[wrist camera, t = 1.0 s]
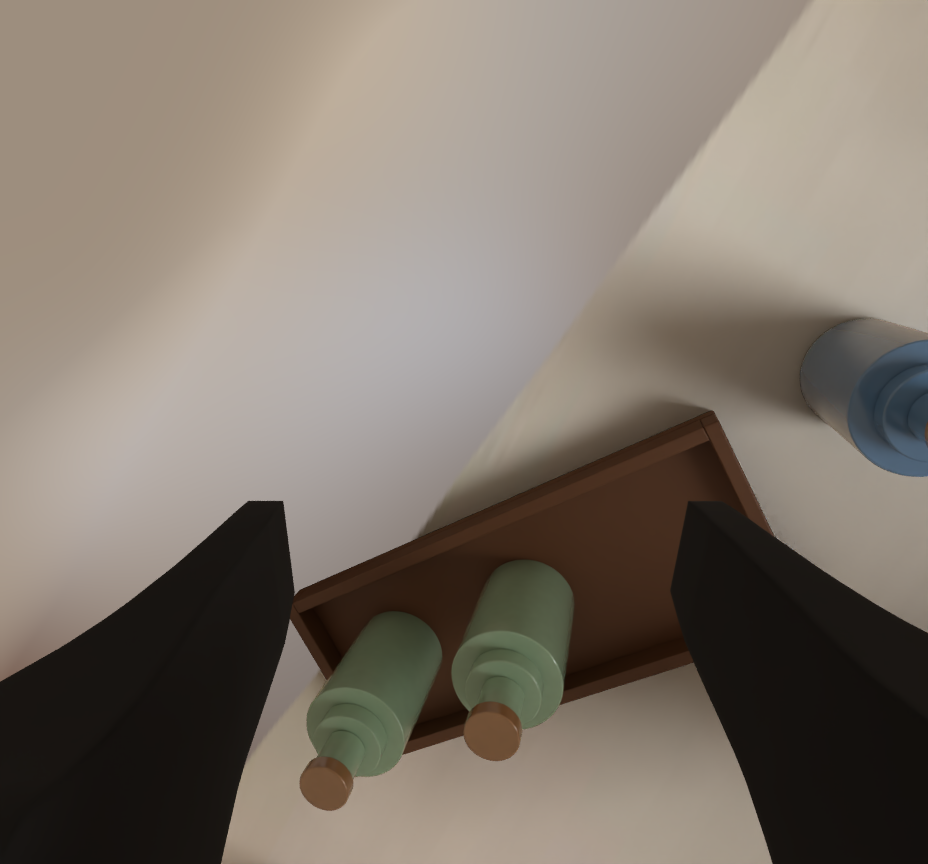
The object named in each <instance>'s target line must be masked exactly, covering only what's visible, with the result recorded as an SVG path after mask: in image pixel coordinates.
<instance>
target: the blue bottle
mask: <svg viewBox="0 0 928 864" xmlns="http://www.w3.org/2000/svg"><path fill="white" fill-rule="evenodd" d="M800 386H801V390H802V394H803V396H804V399H805V400H806V402H807V404H808V405H809V407H810V408H811V409H812V410H813V411H814V412H815V413H816V414H817V415H818V416H819V417H820V418H821V419H822V420H824V421H825V422H826V423H827V424H828V425H829V426H830V427H832V428H833V429H834V430H835V431H836V432H837V433H838V434H839V435H841V436H842V437H843V438H844V439H845V440H846V441H847V442H849V443H850V444H851V445H852V446H853V447H854V448H855V449H857V450H858V451H859V452H860V453H861V454H862V455H863V456H865V457H866V458H867V459H868V460H869V461H871V462H872V463H873V464H875V465H877V466H878V467H880V468H882V469H884V470H887V471H889V472H892V473H895V474H899V475H904V476H913V477H924V476H928V333H926V332H923V331H919V330H916V329H912V328H909V327H905V326H902V325H898V324H895V323H891V322H888V321H884V320H879V319H871V318H870V319H856V320H851V321H847V322H844V323H842V324H839V325H837V326H835V327H833V328H831V329H830V330H828V331H827V332H825V333H824V334H823V335H822V336H820V337H819V338H818V339H817V340H816V341H815V342H814V343H813V345H812V346H811V347H810V349H809V350H808V352H807V354H806V356H805V358H804V361H803V363H802V367H801V372H800Z"/></svg>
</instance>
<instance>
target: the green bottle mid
mask: <svg viewBox="0 0 928 864" xmlns="http://www.w3.org/2000/svg"><path fill="white" fill-rule="evenodd" d="M574 609H575V602H574V596H573V593H572V590H571V588H570V586H569V584H568V583H567V581H566V580H565V579H564V577H563V576H562V575H561V574H560V573H559V572H557V571H556V570H555V569H553V568H552V567H550V566H548V565H546V564H544V563H541V562H538V561H534V560H525V559H523V560H514V561H510V562H507V563H505V564H503V565H501V566H499V567H498V568H496V569H495V570H494V571H493V572H492V573H491V574H490V576H489V577H488V579H487V580H486V582H485V585H484V587H483V590H482V592H481V594H480V597H479V599H478V602H477V604H476V607H475V609H474V611H473V614H472V616H471V619H470V621H469V624H468V626H467V628H466V631H465V633H464V636H463V638H462V640H461V643H460V645H459V648H458V650H457V653H456V655H455V657H454V660H453V664H452V682H453V686H454V689H455V692H456V694H457V696H458V698H459V699H460V701H461V702H462V704H463V705H464V706H465V707H466V709H467V710H468V711H470V712H469V713H468V716H467V719H466V722H465V725H464V730H463V734H464V739H465V742H466V744H467V745H468V747H469V748H470V749H471V750H472V751H473V752H474V753H475V754H476V755H478V756H479V757H481V758H484V759H486V760H490V761H502V760H505V759H508V758H510V757H511V756H513V755H514V754H515V753H516V751H517V750H518V748H519V745H520V741H521V736H522V729H527V728H532V727H534V726H537V725H539V724H541V723H543V722H544V721H546V720H547V719H548V718H550V717H551V716H552V715H553V714H554V712H555V711H556V710H557V708H558V706H559V704H560V702H561V699H562V696H563V690H564V682H565V675H566V668H567V660H568V653H569V646H570V639H571V631H572V624H573V617H574Z"/></svg>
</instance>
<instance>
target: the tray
mask: <svg viewBox="0 0 928 864" xmlns="http://www.w3.org/2000/svg"><path fill="white" fill-rule="evenodd" d="M688 501H723V502H724V503H726V504H728V505H729V506H731V507H732V508H734V509H735V510H737V511H738V512H740V513H741V514H743V515H744V516H746V517H747V518H749V519H750V520H751V521H753V522H754V523H756V524H757V525H758V526H760V527H761V528H763V529H764V530H765V531H767V532H768V533H770V534H771V535H772V536H774V535H773V533H772V530H771V528H770V526H769V524H768V522H767V520H766V518H765V516H764V514H763V512H762V510H761V508H760V505H759V503H758V501H757V499H756V497H755V495H754V493H753V491H752V489H751V487H750V485H749V483H748V481H747V478H746V476H745V474H744V472H743V470H742V468H741V466H740V464H739V462H738V460H737V458H736V456H735V454H734V451H733V449H732V447H731V445H730V443H729V441H728V439H727V437H726V435H725V433H724V431H723V429H722V427H721V424H720V422H719V420H718V419H717V417H716V415H715V413H714V411H709V412H707V413H705V414H702V415H700V416H698V417H695V418H693V419H691V420H688V421H686V422H684V423H682V424H679V425H677V426H675V427H672V428H670V429H668V430H666V431H663V432H661V433H659V434H656V435H654V436H652V437H649V438H647V439H645V440H643V441H640V442H638V443H636V444H633V445H631V446H629V447H627V448H624V449H622V450H620V451H617V452H615V453H613V454H610V455H608V456H606V457H604V458H601V459H599V460H597V461H594V462H592V463H590V464H588V465H585V466H583V467H581V468H578V469H576V470H574V471H571V472H569V473H567V474H565V475H562V476H560V477H558V478H555V479H553V480H551V481H549V482H546V483H544V484H542V485H539V486H537V487H535V488H532V489H530V490H528V491H526V492H523V493H521V494H519V495H516V496H514V497H512V498H510V499H507V500H505V501H503V502H500V503H498V504H496V505H493V506H491V507H489V508H487V509H484V510H482V511H480V512H477V513H475V514H473V515H471V516H468V517H466V518H464V519H461V520H459V521H457V522H454V523H452V524H450V525H448V526H445V527H443V528H441V529H438V530H436V531H434V532H432V533H429V534H427V535H425V536H422V537H420V538H418V539H415V540H413V541H411V542H409V543H406V544H404V545H402V546H399V547H398V548H395V549H393V550H390V551H388V552H386V553H383V554H381V555H379V556H377V557H374V558H372V559H370V560H367V561H365V562H363V563H361V564H358V565H356V566H354V567H351V568H349V569H347V570H344V571H342V572H340V573H338V574H336V575H333V576H331V577H328V578H326V579H324V580H321V581H319V582H317V583H315V584H312V585H310V586H308V587H305V588H303V589H301V590H299V591H298V593H297V594H296V595H295V596H294V598H293V604H292V609H291V614H290V620H291V621H292V623H293V624H294V626H295V628H296V629H297V631H298V633H299V635H300V636H301V638H302V640H303V641H304V643H305V645H306V646H307V648H308V649H309V651H310V653H311V655H312V656H313V658H314V660H315V661H316V663H317V665H318V666H319V668H320V670H321V671H322V673H323V675H324V676H325V678H326V680H328V679H329V677H330V676H331V674H332V673H333V671H334V670H335V668H336V667H337V665H338V664H339V662H340V661H341V660H342V658H343V657H344V655H345V654H346V652H347V651H348V649H349V648H350V646H351V645H352V643H353V642H354V641H355V639H356V638H357V636H358V635H359V633H360V632H361V630H362V629H363V627H364V626H365V625H366V623H367V622H368V621H369V620H370V619H371V618H373V617H374V616H376V615H378V614H381V613H384V612H389V611H400V612H405V613H409V614H412V615H414V616H416V617H418V618H419V619H421V620H422V621H424V622H425V623H426V624H427V625H428V626H429V627H430V628H431V629H432V630H433V631H434V633H435V634H436V636H437V638H438V640H439V642H440V645H441V649H442V663H441V667H440V669H439V671H438V674H437V676H436V678H435V681H434V683H433V685H432V688H431V690H430V692H429V694H428V697H427V699H426V701H425V704H424V706H423V708H422V710H421V713H420V715H419V717H418V720H417V722H416V724H415V726H414V729H413V731H412V733H411V736H410V738H409V740H408V742H407V745H406V747H405V749H404V752H403V754H406V753H410V752H413V751H416V750H419V749H422V748H425V747H428V746H432V745H435V744H438V743H441V742H444V741H447V740H451V739H454V738H457V737H460V736H463V735H464V734H463V730H464V725H465V722H466V719H467V716H468V713H469V712H470V711H468V710H467V709H466V707H465V706H464V705H463V704H462V702H461V701H460V699H459V698H458V696H457V694H456V692H455V689H454V686H453V682H452V664H453V660H454V657H455V655H456V653H457V650H458V648H459V645H460V643H461V640H462V638H463V636H464V633H465V631H466V628H467V626H468V624H469V621H470V619H471V616H472V614H473V611H474V609H475V607H476V604H477V602H478V599H479V597H480V594H481V592H482V590H483V587H484V585H485V582H486V580H487V579H488V577H489V576H490V574H491V573H492V572H493V571H494V570H495V569H496V568H498V567H499V566H501V565H503V564H505V563H507V562H510V561H514V560H523V559H525V560H534V561H538V562H541V563H544V564H546V565H548V566H550V567H552V568H553V569H555V570H556V571H557V572H559V573H560V574H561V575H562V576H563V577H564V579H565V580H566V581H567V583H568V584H569V586H570V588H571V590H572V593H573V596H574V602H575V609H574V617H573V624H572V631H571V639H570V646H569V653H568V660H567V668H566V675H565V682H564V690H563V696H562V699H561V702H560V704H559V705H561V704H564V703H567V702H570V701H574V700H577V699H580V698H583V697H586V696H589V695H593V694H596V693H599V692H602V691H605V690H608V689H611V688H615V687H618V686H621V685H624V684H627V683H630V682H634V681H637V680H640V679H643V678H646V677H649V676H652V675H656V674H659V673H662V672H665V671H668V670H671V669H675V668H678V667H681V666H684V665H687V664H690V663H694V662H693V659H692V657H691V655H690V652H689V650H688V648H687V645H686V643H685V641H684V637H683V634H682V631H681V628H680V624H679V621H678V618H677V614H676V611H675V607H674V603H673V600H672V596H671V592H670V588H671V583H672V578H673V573H674V568H675V564H676V559H677V554H678V549H679V544H680V539H681V534H682V529H683V524H684V519H685V514H686V509H687V504H688ZM403 754H402V755H403Z"/></svg>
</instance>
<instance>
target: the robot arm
mask: <svg viewBox="0 0 928 864" xmlns="http://www.w3.org/2000/svg"><path fill="white" fill-rule="evenodd" d="M670 592H671V596H672V600H673V603H674V607H675V611H676V614H677V618H678V621H679V624H680V628H681V631H682V634H683V637H684V641H685V643H686V645H687V648H688V650H689V652H690V655H691V657H692V659H693V662H694V664H695V666H696V668H697V671H698V673H699V675H700V677H701V680H702V682H703V684H704V686H705V689H706V691H707V693H708V695H709V697H710V700H711V702H712V704H713V706H714V708H715V711H716V713H717V715H718V717H719V720H720V722H721V724H722V726H723V728H724V731H725V733H726V735H727V737H728V740H729V742H730V744H731V746H732V748H733V751H734V753H735V755H736V758H737V760H738V763H739V765H740V768H741V770H742V773H743V775H744V778H745V780H746V783H747V786H748V789H749V792H750V795H751V798H752V801H753V804H754V807H755V810H756V813H757V816H758V819H759V822H760V825H761V828H762V831H763V834H764V837H765V840H766V843H767V847H768V850H769V853H770V856H771V860H772V863H773V864H928V633H926V632H925V631H923V630H921V629H919V628H917V627H915V626H913V625H912V624H910V623H908V622H906V621H904V620H902V619H900V618H899V617H897V616H895V615H893V614H892V613H890V612H888V611H886V610H885V609H883V608H881V607H879V606H878V605H876V604H874V603H873V602H871V601H870V600H868V599H866V598H865V597H863V596H862V595H860V594H858V593H857V592H855V591H854V590H852V589H850V588H849V587H847V586H846V585H844V584H842V583H841V582H839V581H838V580H836V579H835V578H833V577H832V576H830V575H829V574H827V573H826V572H824V571H823V570H821V569H820V568H818V567H817V566H815V565H814V564H812V563H811V562H809V561H808V560H807V559H805V558H804V557H802V556H801V555H799V554H798V553H796V552H795V551H794V550H792V549H791V548H789V547H788V546H787V545H785V544H784V543H782V542H781V541H779V540H778V539H777V538H775V537H774V536H772V535H771V534H770V533H768V532H767V531H765V530H764V529H763V528H761V527H760V526H758V525H757V524H756V523H754V522H753V521H751V520H750V519H749V518H747V517H746V516H744V515H743V514H741V513H740V512H738V511H737V510H735V509H734V508H732V507H731V506H729V505H728V504H726V503H724V502H723V501H688V504H687V509H686V514H685V519H684V524H683V529H682V534H681V539H680V544H679V549H678V554H677V559H676V564H675V568H674V573H673V578H672V583H671V588H670ZM294 593H295V592H294V583H293V576H292V568H291V560H290V552H289V544H288V536H287V528H286V520H285V512H284V504H283V501H248V502H247V503H246V504H244V505H243V506H242V507H241V508H239V509H238V510H237V511H236V512H235V513H234V514H233V515H232V516H231V517H229V518H228V519H227V520H226V521H225V522H224V523H223V524H222V525H221V526H219V527H218V528H217V529H216V530H215V531H214V532H213V533H212V534H211V535H209V536H208V537H207V538H206V539H205V540H204V541H203V542H202V543H200V544H199V545H198V546H197V547H196V548H195V549H193V550H192V551H191V552H190V553H189V554H188V555H187V556H186V557H184V558H183V559H182V560H181V561H180V562H178V563H177V564H176V565H175V566H174V567H172V568H171V569H170V570H169V571H168V572H166V573H165V574H164V575H162V576H161V577H160V578H158V579H157V580H156V581H155V582H153V583H152V584H151V585H150V586H148V587H147V588H146V589H145V590H143V591H142V592H141V593H139V594H138V595H137V596H136V597H135V598H133V599H132V600H130V601H129V602H128V603H126V604H125V605H124V606H122V607H121V608H120V609H118V610H117V611H115V612H114V613H112V614H111V615H110V616H108V617H107V618H105V619H104V620H102V621H101V622H99V623H98V624H96V625H95V626H93V627H92V628H90V629H89V630H87V631H86V632H84V633H83V634H81V635H79V636H78V637H76V638H75V639H73V640H72V641H70V642H69V643H67V644H66V645H64V646H62V647H61V648H59V649H58V650H55V651H54V652H52V653H50V654H48V655H47V656H45V657H43V658H41V659H39V660H38V661H36V662H34V663H33V664H31V665H29V666H27V667H25V668H24V669H22V670H20V671H19V672H17V673H15V674H13V675H11V676H10V677H8V678H6V679H4V680H3V681H1V682H0V864H221V861H222V856H223V852H224V847H225V843H226V838H227V834H228V829H229V825H230V821H231V816H232V812H233V807H234V803H235V799H236V794H237V790H238V786H239V782H240V779H241V775H242V772H243V768H244V765H245V762H246V758H247V755H248V752H249V749H250V746H251V743H252V740H253V737H254V734H255V731H256V728H257V725H258V723H259V719H260V717H261V714H262V711H263V708H264V705H265V702H266V699H267V696H268V693H269V690H270V687H271V684H272V681H273V678H274V675H275V672H276V669H277V665H278V662H279V660H280V656H281V653H282V650H283V647H284V644H285V639H286V635H287V630H288V624H289V620H290V614H291V609H292V604H293V598H294Z"/></svg>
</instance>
